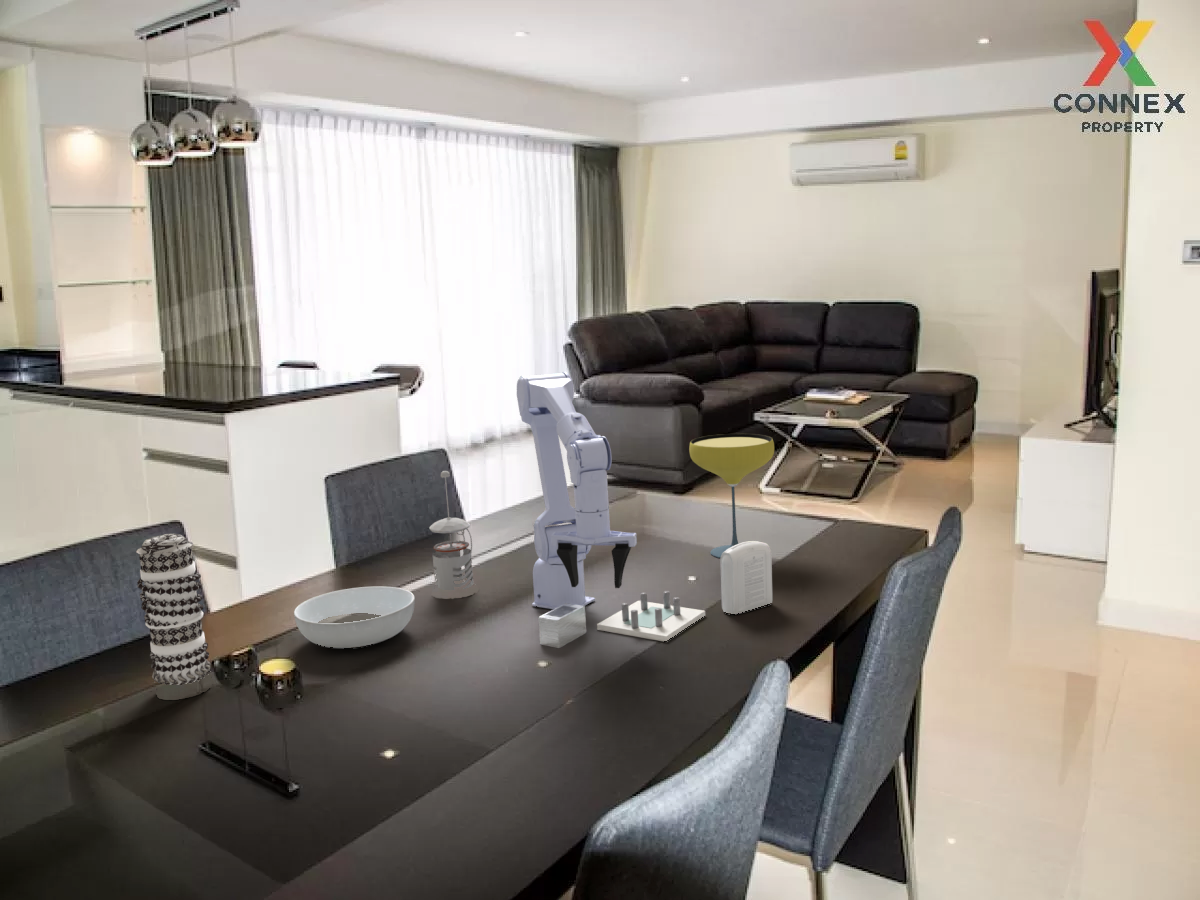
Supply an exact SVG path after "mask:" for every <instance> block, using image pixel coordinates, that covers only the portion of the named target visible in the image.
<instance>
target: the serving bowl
mask: <svg viewBox="0 0 1200 900" xmlns="http://www.w3.org/2000/svg"><path fill="white" fill-rule="evenodd" d="M415 602H416V600H415V595H414V594H413V593H412V591H410V590H408V589H405V588H400V587H395V586H385V585H384V586H379V585H378V586H377V585H376V586H362V587H361V586H360V587H352V588H347V589H346V588H345V589H340V590H335V591H334V590H333V591H330V592H327V593H323V594H320V595H317V596H313V597H311V598H309V599H307V600H305V601H303V602H301V603H300V604H298V606H296V607H295V609H294V611H293V616H294V621H295V624H296V626H297V628H298V631H299V632H300V633H301V635H302V636H304V637H305V639H307V640H308V641H309V642H311V643H312V644H315V645H317V644H318V646H320V645H321V647H324V646H325V647H324V648H330V647H333V648H332V649H344V648H351V647H360V646H366V645H370V646H372V645H371V644H373V645H375V644H378V643H381V642H384V641H387V640H388V639H391V638H393V637H394V636H396V635H398V634H399V633H401V632H402V631H403V629H405V628H406V626H407V625H408V624H409V623H410V622H411V619H412V616H413V614H414V610H415ZM351 613H368V614H374V615H375V614H376V615H381V616H379V617H375V618H371V619H366V620H360V621H353V622H344V623H318V622H319V621H321V620H323V619H326V618H328V617H332V616H338V615H342V614H343V615H344V614H351ZM366 647H367V646H366Z"/></svg>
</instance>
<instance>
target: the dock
mask: <svg viewBox="0 0 1200 900" xmlns="http://www.w3.org/2000/svg"><path fill="white" fill-rule="evenodd" d="M662 593H663V595H662V596H663V603H658V602H652V601H651V602H650V601H648V593H647V592H641V593H640V594H639V595H640V600H637V601H635V602H633V603H632V604H630V605H629V603H627V602H622V603H621V610H619V611H617V612H615V613H614V614H612V615H610V616H609V617H607V618H605V619H604V620H602V621H600V622H599V623H596V629H597V630H598V631H602V632H604V631H605V632H610V633H614V634H620V635H625V636H631V637H636V638H642V639H647V640H654V641H659V642H664V641H667V640H669V639H670V638H672V637H673V638H675V637H676V636H678V635H679V634H680V633H679V632H681V631H682V630H684V629H685V628H687V627H688V626H690V625H691V624H693V623H694V624H696V623H697V622H698V620H699V619H700V620H702V619H703V618H705V617H706V610H702V609H696V608H690V607H689V608H688V607H683V606H681V597H678V596H677V597H675V596H674V597H673V598H672V601H673V602H672V603H673V605H672V604H671V592H670V590H664V591H663V592H662ZM704 616H705V617H704ZM702 617H703V618H702ZM701 618H702V619H701ZM700 620H699V621H700ZM696 621H697V622H696ZM695 622H696V623H695ZM694 624H693V625H694ZM691 626H692V625H691ZM691 626H690V627H691ZM688 628H689V627H688ZM688 628H687V629H688ZM685 630H686V629H685ZM685 630H684V631H685ZM682 632H683V631H682ZM682 632H681V633H682ZM678 633H679V634H678ZM677 634H678V635H677ZM675 635H676V636H675ZM674 636H675V637H674ZM673 638H672V639H673ZM670 640H671V639H670ZM670 640H669V641H670ZM667 642H668V641H667Z"/></svg>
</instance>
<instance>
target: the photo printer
mask: <svg viewBox="0 0 1200 900" xmlns="http://www.w3.org/2000/svg"><path fill="white" fill-rule="evenodd" d="M719 559H720V561H719V562H720V597H721V599H720V600H721V610H723V613H724V612H726V613H731V614H735V615H737V614H738V613H739V614H743V613H746V612H745V611H747V612H749V611H748V610H750V611H753V610H752V609H754V610H756V609H755V608H757V609H759V608H758V607H761V606H764V605H767V604H770V603H773V568H772V567H773V566H772V565H773V562H772V561H773V560H772V559H773V558H772V549H771V548H770V546H769V544H768V543H766V542H761V541H757V540H751V541H748V540H747V541H743V542H740V543H739V542H738V544H737V545H734V546H732V547H730V548H729V549H727V550H726V551H724V552H723V553H722V555H721V558H719ZM770 605H771V604H770ZM764 607H765V606H764ZM761 608H762V607H761ZM742 612H743V613H742ZM726 613H725V614H726ZM739 614H738V615H739Z"/></svg>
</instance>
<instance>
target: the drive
mask: <svg viewBox="0 0 1200 900" xmlns="http://www.w3.org/2000/svg"><path fill="white" fill-rule="evenodd" d="M586 619H587V618H586V605H585V606H581V605H575V604H570V603H565V604H563V605H561V606H559V607H557V608H555V609H550V610H549V611H548V612H546V613H544V614H542V615H539V616H538V619H537V620H538V630H539V631H538V633H539V644H540V645H541V646H542V645H543V646H547V647H550V648H551V647H553V648H557V649H560V648H562V647H564V646H565V645H567V644H569V643H571V642H573V641H574V640H576V639H578V638H579V637H581V636H583V635H585V634H586V633H587V620H586Z"/></svg>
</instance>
